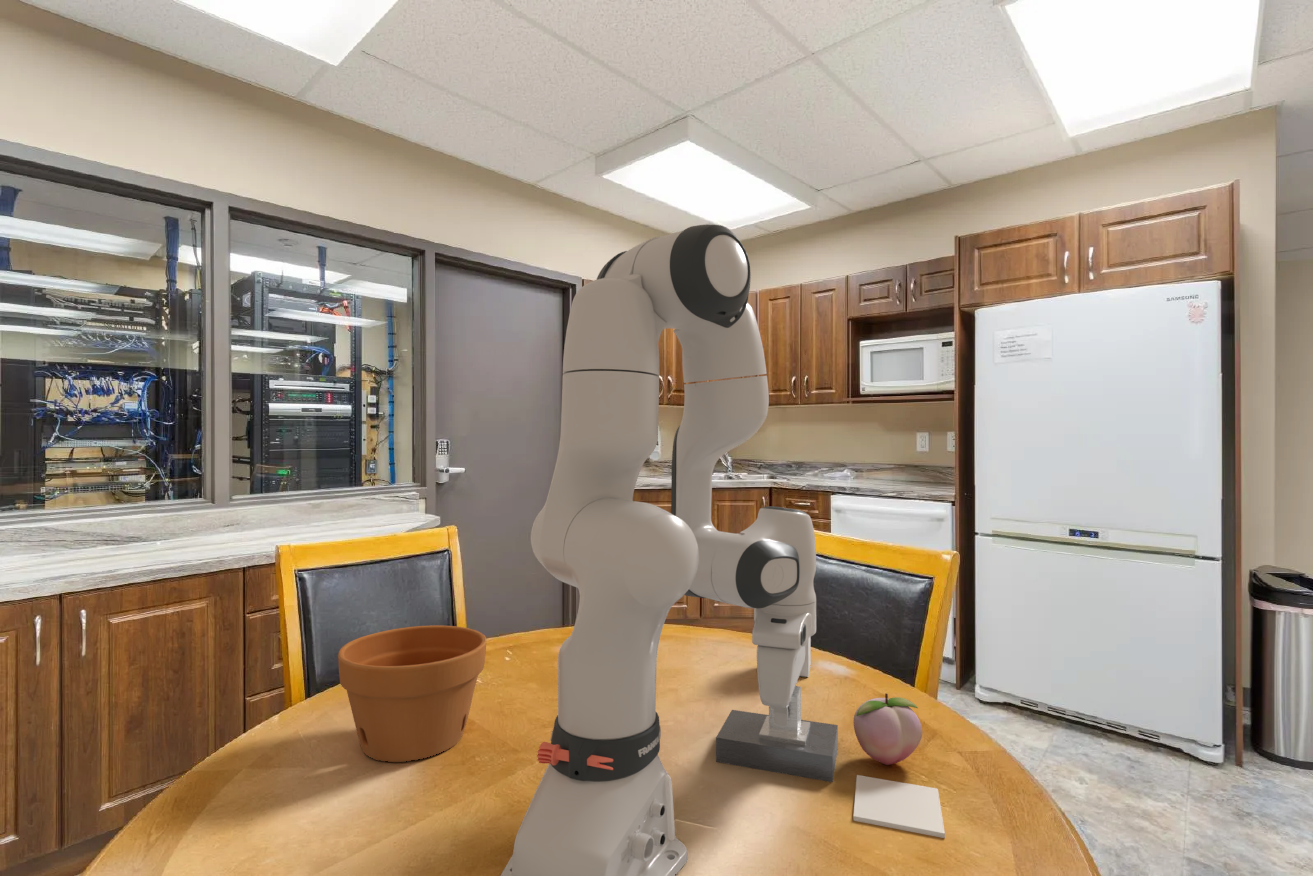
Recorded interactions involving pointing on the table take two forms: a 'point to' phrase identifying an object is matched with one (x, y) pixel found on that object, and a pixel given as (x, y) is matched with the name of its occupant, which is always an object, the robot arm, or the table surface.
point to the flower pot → (411, 688)
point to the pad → (898, 806)
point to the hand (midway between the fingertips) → (785, 714)
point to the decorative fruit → (887, 729)
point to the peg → (793, 730)
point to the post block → (777, 748)
